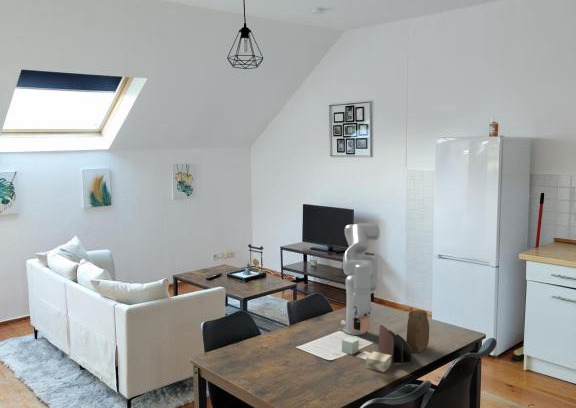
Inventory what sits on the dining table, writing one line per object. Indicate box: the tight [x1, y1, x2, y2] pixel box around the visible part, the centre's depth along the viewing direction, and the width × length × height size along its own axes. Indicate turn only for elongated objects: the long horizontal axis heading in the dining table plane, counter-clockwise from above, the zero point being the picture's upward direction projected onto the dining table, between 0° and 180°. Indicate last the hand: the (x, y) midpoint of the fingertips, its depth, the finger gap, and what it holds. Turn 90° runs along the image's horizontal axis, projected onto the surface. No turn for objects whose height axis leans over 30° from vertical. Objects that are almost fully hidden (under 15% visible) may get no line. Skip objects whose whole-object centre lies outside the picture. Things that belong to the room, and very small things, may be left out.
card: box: [355, 350, 372, 361], centre depth 262 cm, size 8×8×1 cm
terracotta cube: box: [352, 315, 371, 333], centre depth 251 cm, size 6×6×6 cm
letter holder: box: [377, 324, 413, 366], centre depth 262 cm, size 10×20×14 cm, turn 9°
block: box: [406, 309, 430, 353], centre depth 271 cm, size 11×8×20 cm
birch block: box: [365, 350, 392, 373], centre depth 251 cm, size 9×9×5 cm
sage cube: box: [341, 336, 360, 355], centre depth 268 cm, size 6×6×6 cm
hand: (361, 327), depth 251 cm, fingers closed on terracotta cube, 6 cm apart
